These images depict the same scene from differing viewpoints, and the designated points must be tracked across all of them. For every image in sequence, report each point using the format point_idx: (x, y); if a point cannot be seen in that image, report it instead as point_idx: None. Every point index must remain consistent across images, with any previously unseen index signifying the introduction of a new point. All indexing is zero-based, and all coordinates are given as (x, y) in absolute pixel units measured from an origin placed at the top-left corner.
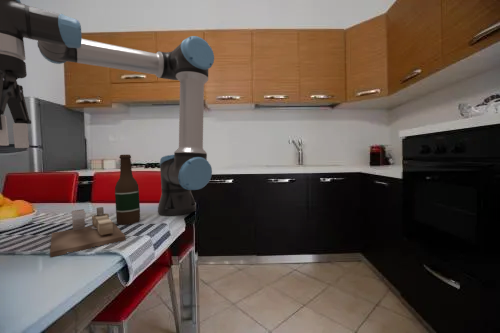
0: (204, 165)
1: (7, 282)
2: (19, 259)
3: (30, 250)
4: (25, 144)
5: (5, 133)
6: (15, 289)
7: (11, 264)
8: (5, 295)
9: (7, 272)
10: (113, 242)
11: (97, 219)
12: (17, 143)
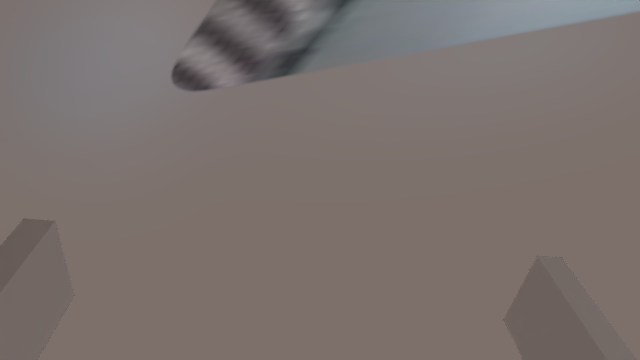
0: None
1: (528, 26)
2: (368, 30)
3: (295, 15)
4: (43, 260)
5: (614, 339)
6: (589, 2)
7: (397, 42)
8: (604, 16)
9: (456, 39)
10: None
11: None
12: (52, 313)
